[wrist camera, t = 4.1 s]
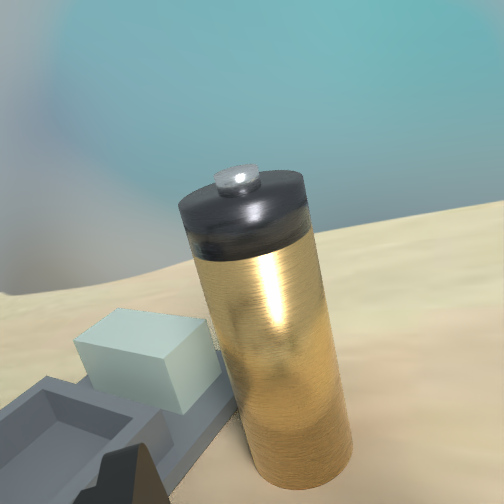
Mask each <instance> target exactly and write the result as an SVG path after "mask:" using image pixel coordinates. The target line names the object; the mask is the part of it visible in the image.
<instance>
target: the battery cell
mask: <svg viewBox="0 0 504 504" xmlns="http://www.w3.org/2000/svg"><path fill="white" fill-rule="evenodd" d="M214 179H215V183H213V184H210V185H208V186H205V187H203V188H201V189H198V190H196V191H194V192H192V193H191V194H189V195H187V196H186V197H184V198H183V199H182V200H181V201H180V202H179V204H178V207H179V211H180V214H181V218H182V221H183V224H184V227H185V231H186V234H187V238H188V241H189V245H190V248H191V251H192V254H193V258H194V261H195V265H196V268H197V272H198V275H199V278H200V282H201V285H202V288H203V292H204V295H205V299H206V302H207V305H208V309H209V312H210V315H211V319H212V322H213V326H214V329H215V332H216V336H217V339H218V342H219V346H220V349H221V353H222V356H223V359H224V363H225V366H226V369H227V373H228V376H229V380H230V383H231V386H232V390H233V393H234V396H235V400H236V403H237V407H238V410H239V413H240V417H241V420H242V423H243V427H244V430H245V434H246V437H247V440H248V444H249V447H250V450H251V454H252V457H253V461H254V464H255V466H256V469H257V470H258V472H259V473H260V475H261V476H262V477H263V478H264V479H266V480H267V481H268V482H270V483H271V484H273V485H276V486H278V487H281V488H285V489H291V490H302V489H309V488H314V487H317V486H320V485H322V484H325V483H327V482H329V481H330V480H332V479H333V478H335V477H336V476H337V475H338V474H339V473H340V472H341V471H342V470H343V469H344V468H345V467H346V465H347V463H348V462H349V460H350V457H351V454H352V448H353V443H352V437H351V431H350V426H349V421H348V415H347V410H346V405H345V399H344V394H343V389H342V383H341V378H340V373H339V367H338V362H337V356H336V351H335V346H334V340H333V335H332V330H331V324H330V319H329V314H328V308H327V303H326V298H325V292H324V287H323V282H322V276H321V271H320V266H319V260H318V255H317V249H316V244H315V239H314V233H313V228H312V223H311V218H310V212H309V207H308V202H307V196H306V191H305V185H304V180H303V176H302V174H300V173H298V172H295V171H288V170H275V171H263V172H259V171H258V167H257V165H255V164H245V165H239V166H235V167H231V168H227V169H224V170H222V171H219V172H217V173H216V174H215V175H214Z"/></svg>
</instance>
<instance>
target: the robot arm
mask: <svg viewBox="0 0 504 504" xmlns="http://www.w3.org/2000/svg"><path fill="white" fill-rule="evenodd" d="M72 504H170V501H169V498H168V495H167V493H166V490H165V488H164V486H163V483H162V481H161V479H160V476H159V474H158V471H157V469H156V467H155V464H154V462H153V460H152V457H151V455H150V452H149V450H148V448H147V446H146V445H145V444H144V443H138V444H135V445H132V446H128V447H125V448H122V449H118V450H115V451H112V452H108V453H105V454H104V455H103V457H102V460H101V464H100V469H99V474H98V479H97V483H96V486H94V487H91V488H87V489H84V490H81V491H80V492H79V494H78V496H77V497H76V499H75V500H74V502H73V503H72Z"/></svg>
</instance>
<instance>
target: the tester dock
mask: <svg viewBox="0 0 504 504" xmlns="http://www.w3.org/2000/svg"><path fill="white" fill-rule="evenodd" d="M73 342H74V344H75V346H76V348H77V351H78V353H79V355H80V358H81V360H82V362H83V365H84V367H85V369H86V372H87V374H88V375H87V376H85V377H84V378H83V379H82V380H81V381H79V382H78V383H77V384H73V383H70V382H66V381H63V380H59V379H56V378H52V377H49V376H46V377H44V378H43V379H42V380H40V381H39V382H38V383H36V384H35V385H34V386H32V387H31V388H30V389H28V390H27V391H26V392H24V393H23V394H21V395H20V396H19V397H17V398H16V399H15V400H13V401H12V402H11V403H9V404H8V405H7V406H5V407H4V408H3V409H1V410H0V504H72V503H73V502H74V500H75V499H76V497H77V496H78V494H79V492H80V491H81V490H84V489H87V488H91V487H94V486H96V483H97V479H98V474H99V469H100V464H101V460H102V457H103V455H104V454H105V453H108V452H112V451H115V450H118V449H122V448H125V447H128V446H132V445H135V444H138V443H144V444H145V445H146V446H147V448H148V450H149V452H150V455H151V457H152V460H153V462H154V464H155V467H156V469H157V471H158V474H159V476H160V479H161V481H162V483H163V486H164V488H165V490H166V493H167V495H168V496H169V495H170V494H171V492H172V491H173V490H174V488H175V487H176V486H177V485H178V483H179V482H180V481H181V480H182V478H183V477H184V476H185V474H186V473H187V472H188V471H189V469H190V468H191V467H192V466H193V464H194V463H195V462H196V460H197V459H198V458H199V457H200V455H201V454H202V453H203V452H204V450H205V449H206V448H207V446H208V445H209V444H210V443H211V441H212V440H213V439H214V437H215V436H216V435H217V434H218V432H219V431H220V430H221V429H222V427H223V426H224V425H225V423H226V422H227V421H228V420H229V418H230V417H231V416H232V415H233V413H234V412H235V411H236V409H237V408H238V407H237V403H236V400H235V396H234V393H233V390H232V386H231V383H230V380H229V376H228V373H227V369H226V366H225V363H224V359H223V356H222V353H221V351H218V350H215V348H214V344H213V341H212V338H211V334H210V331H209V328H208V324H207V321H206V319H198V318H191V317H183V316H176V315H168V314H161V313H153V312H145V311H138V310H130V309H123V308H117V309H116V310H114V311H113V312H112V313H110V314H109V315H107V316H106V317H105V318H103V319H102V320H100V321H99V322H98V323H96V324H95V325H93V326H92V327H91V328H89V329H88V330H86V331H85V332H84V333H82V334H81V335H79V336H78V337H77V338H75V339H74V340H73Z"/></svg>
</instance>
